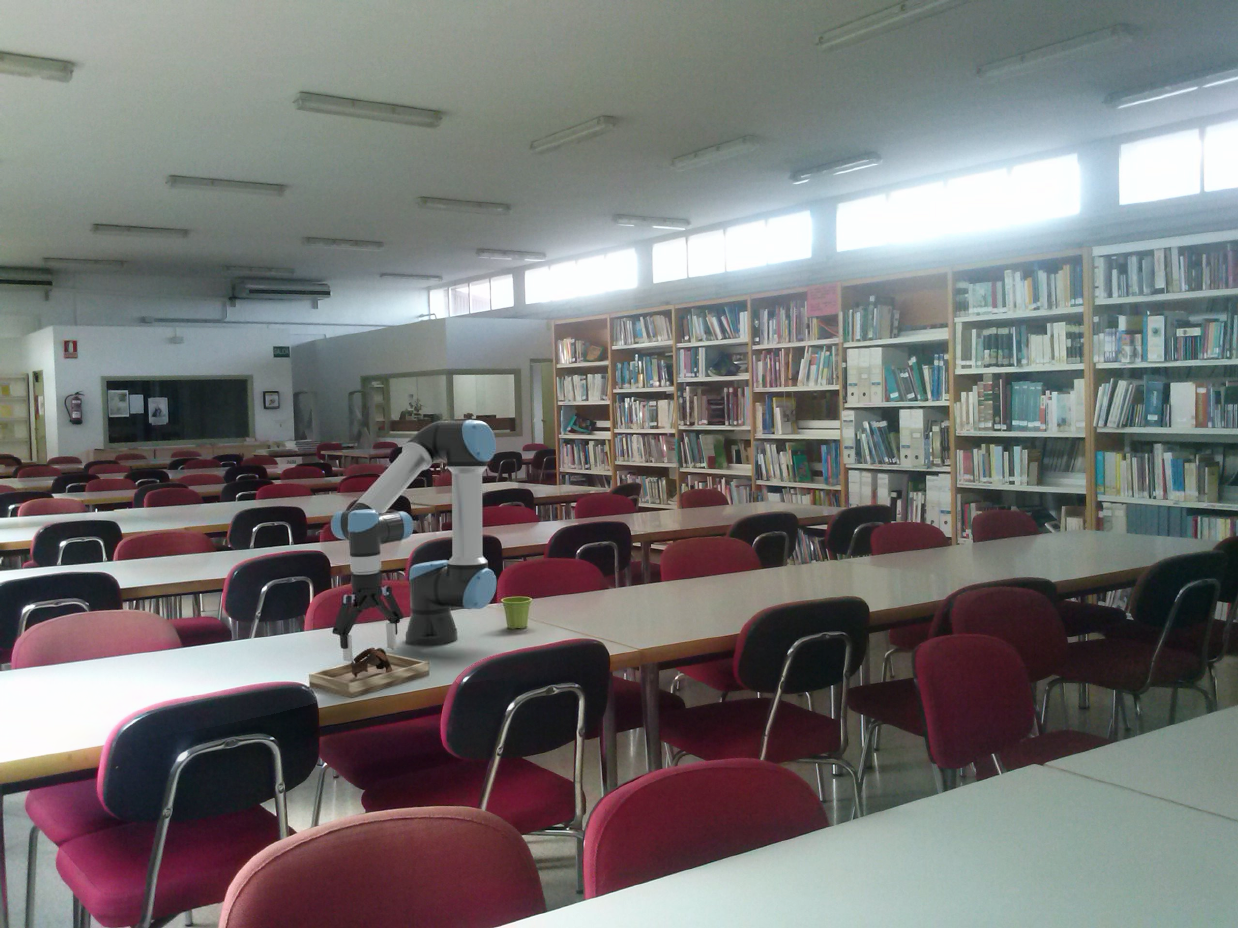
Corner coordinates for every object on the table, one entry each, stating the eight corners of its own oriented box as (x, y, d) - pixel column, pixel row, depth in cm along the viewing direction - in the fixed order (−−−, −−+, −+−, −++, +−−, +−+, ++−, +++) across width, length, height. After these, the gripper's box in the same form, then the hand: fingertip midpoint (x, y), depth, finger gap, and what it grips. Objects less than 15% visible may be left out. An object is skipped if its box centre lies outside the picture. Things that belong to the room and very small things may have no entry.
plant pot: (516, 622, 312) (515, 595, 311) (538, 625, 306) (538, 598, 306) (495, 628, 304) (495, 600, 304) (518, 631, 299) (517, 603, 298)
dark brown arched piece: (391, 683, 243) (372, 657, 241) (359, 698, 245) (341, 672, 242) (403, 658, 254) (385, 633, 252) (372, 673, 256) (355, 648, 254)
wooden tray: (386, 664, 263) (386, 653, 263) (429, 674, 253) (428, 662, 253) (309, 686, 244) (308, 673, 244) (352, 697, 234) (351, 684, 234)
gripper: (395, 562, 259) (399, 641, 261) (314, 578, 239) (319, 663, 241) (414, 564, 254) (418, 645, 256) (333, 581, 235) (338, 668, 236)
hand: (370, 654), depth 249 cm, fingers open, 13 cm apart
